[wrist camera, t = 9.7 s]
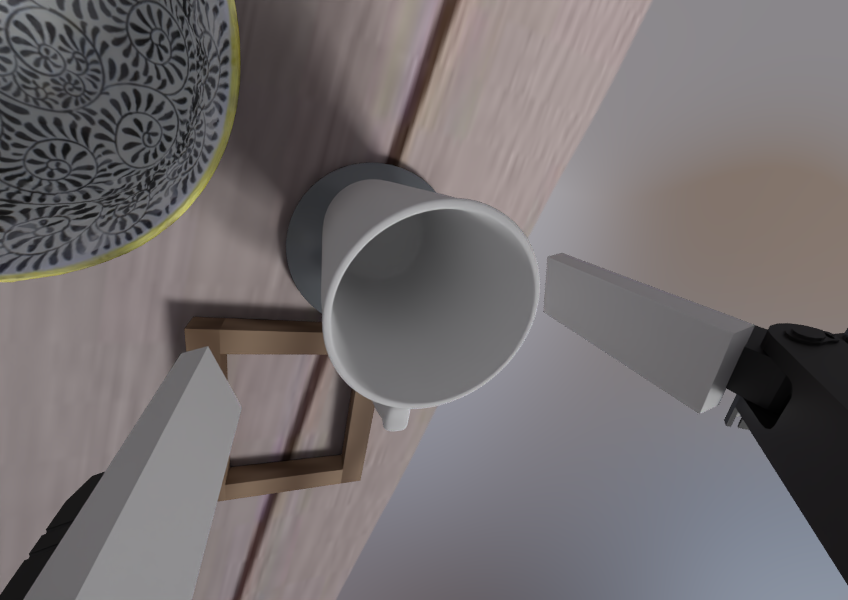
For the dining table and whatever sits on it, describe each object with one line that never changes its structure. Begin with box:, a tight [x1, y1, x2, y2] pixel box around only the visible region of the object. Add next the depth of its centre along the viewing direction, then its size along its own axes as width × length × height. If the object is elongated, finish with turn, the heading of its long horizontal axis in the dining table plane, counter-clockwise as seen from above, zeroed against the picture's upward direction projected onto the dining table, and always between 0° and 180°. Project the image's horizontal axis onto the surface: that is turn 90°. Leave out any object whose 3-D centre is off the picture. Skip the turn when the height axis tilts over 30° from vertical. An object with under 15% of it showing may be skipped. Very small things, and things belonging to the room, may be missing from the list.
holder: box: [184, 317, 375, 501], centre depth 23 cm, size 12×15×2 cm
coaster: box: [286, 163, 436, 313], centre depth 20 cm, size 11×11×1 cm
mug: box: [321, 179, 540, 431], centre depth 15 cm, size 10×7×12 cm, turn 164°
